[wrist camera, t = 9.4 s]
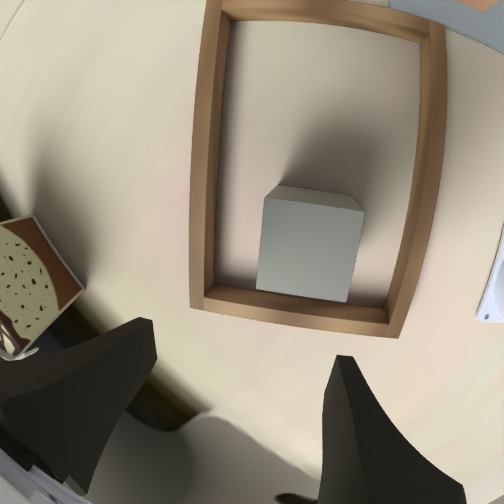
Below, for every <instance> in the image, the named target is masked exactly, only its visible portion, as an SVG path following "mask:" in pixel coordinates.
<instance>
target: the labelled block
mask: <svg viewBox="0 0 504 504" xmlns="http://www.w3.org/2000/svg"><path fill="white" fill-rule="evenodd" d="M455 1H457V2H460V3H462V4H464V5H467V6H469V7H471V8H473V9H476V10H478V11H480V12H482V13H483V12H484V11H485V10H487V9H488V8H489V7H491V6H492V5H494V4H495V3H496V2H498V1H499V0H455Z"/></svg>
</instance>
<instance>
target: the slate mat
mask: <svg viewBox="0 0 504 504" xmlns="http://www.w3.org/2000/svg"><path fill="white" fill-rule="evenodd" d="M389 9H392V10H396V11H400V12H404V13H408V14H411V15H414V16H418V17H421V18H424V19H427V20H430V21H433V22H436V23H439V24H442V25H444V28H447V29H450V30H452V31H455V32H457V33H460V34H462V35H465V36H467V37H469V38H472V39H474V40H476V41H478V42H481V43H483V44H485V45H487V46H489V47H491V48H493V49H495V50H497V51H499V52H501V53H503V54H504V0H499V1H498V2H496V3H495V4H494V5H492V6H491V7H489V8H488V9H487V10H485V11H484V12H483V13H482V12H480V11H478V10H476V9H473V8H471V7H469V6H467V5H464V4H462V3H460V2H457V1H455V0H389Z"/></svg>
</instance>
